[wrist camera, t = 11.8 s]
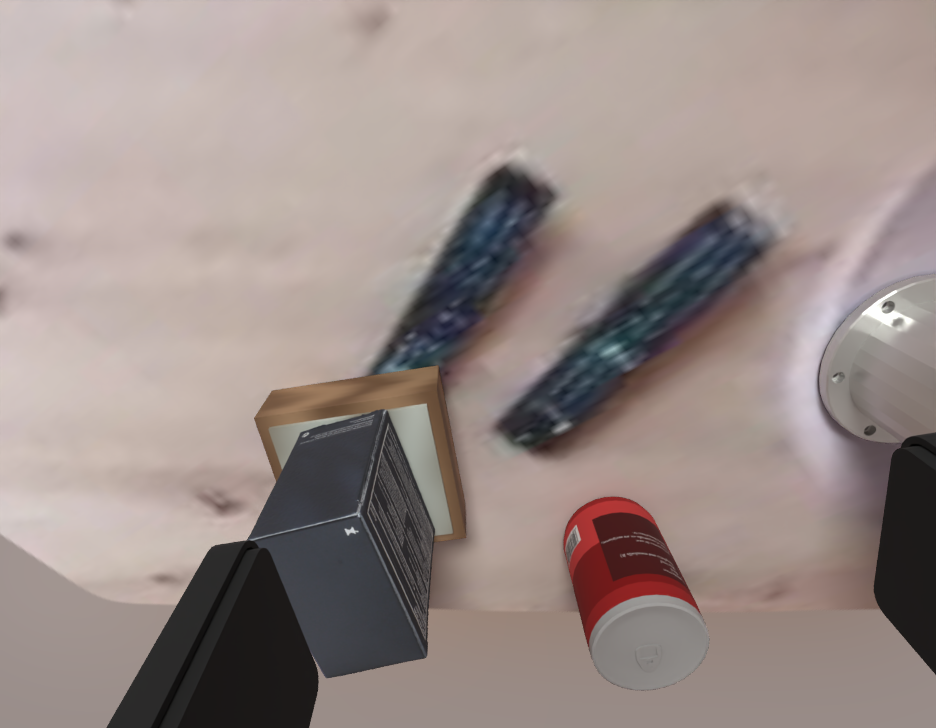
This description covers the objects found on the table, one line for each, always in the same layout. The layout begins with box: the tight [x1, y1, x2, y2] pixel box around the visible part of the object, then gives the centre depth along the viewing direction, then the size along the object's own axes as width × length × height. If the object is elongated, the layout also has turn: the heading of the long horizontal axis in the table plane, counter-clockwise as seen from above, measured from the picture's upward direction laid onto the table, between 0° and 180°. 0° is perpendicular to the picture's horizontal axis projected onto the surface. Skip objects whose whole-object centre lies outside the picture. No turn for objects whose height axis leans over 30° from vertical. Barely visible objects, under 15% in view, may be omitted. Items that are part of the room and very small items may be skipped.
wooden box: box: [254, 366, 466, 542], centre depth 41 cm, size 12×12×4 cm
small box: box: [247, 409, 435, 678], centre depth 34 cm, size 11×6×10 cm, turn 17°
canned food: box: [564, 497, 709, 691], centre depth 41 cm, size 8×8×11 cm
